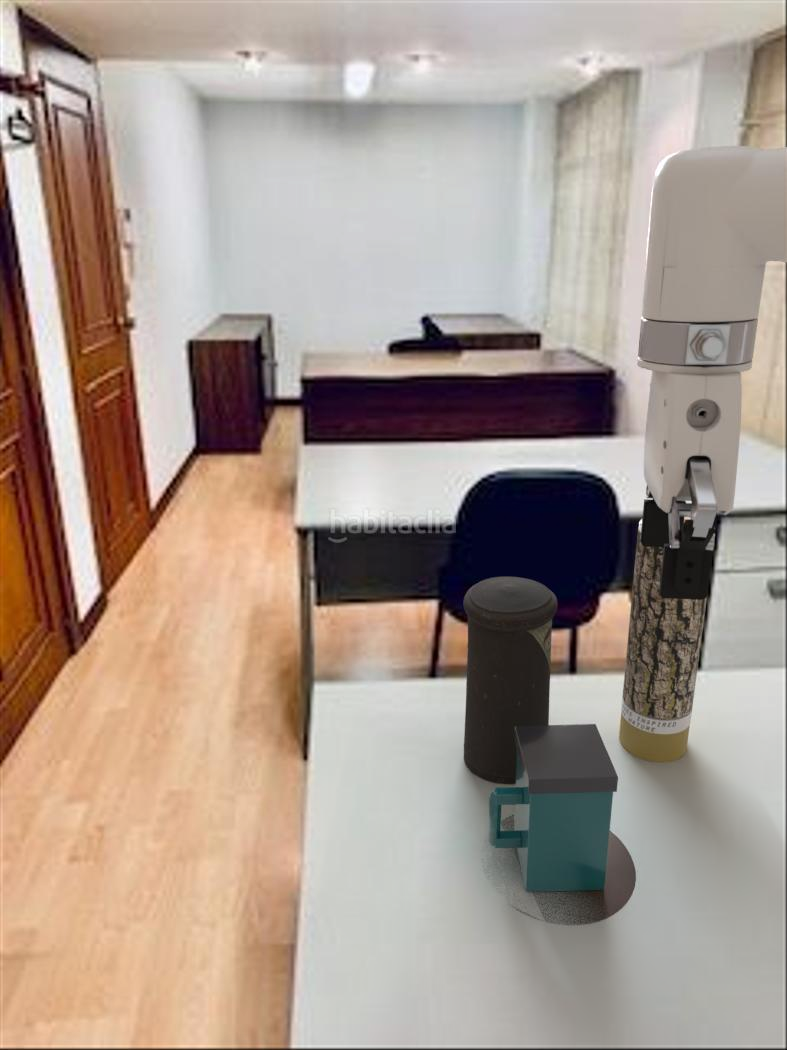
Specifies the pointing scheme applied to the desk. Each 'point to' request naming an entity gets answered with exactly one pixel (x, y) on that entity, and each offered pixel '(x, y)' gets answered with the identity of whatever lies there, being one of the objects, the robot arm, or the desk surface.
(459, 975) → the desk surface
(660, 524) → the robot arm
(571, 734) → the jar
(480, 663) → the container
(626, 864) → the turntable
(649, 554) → the paper tube
